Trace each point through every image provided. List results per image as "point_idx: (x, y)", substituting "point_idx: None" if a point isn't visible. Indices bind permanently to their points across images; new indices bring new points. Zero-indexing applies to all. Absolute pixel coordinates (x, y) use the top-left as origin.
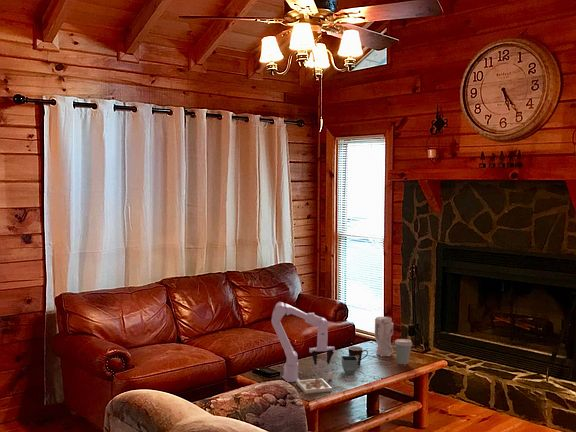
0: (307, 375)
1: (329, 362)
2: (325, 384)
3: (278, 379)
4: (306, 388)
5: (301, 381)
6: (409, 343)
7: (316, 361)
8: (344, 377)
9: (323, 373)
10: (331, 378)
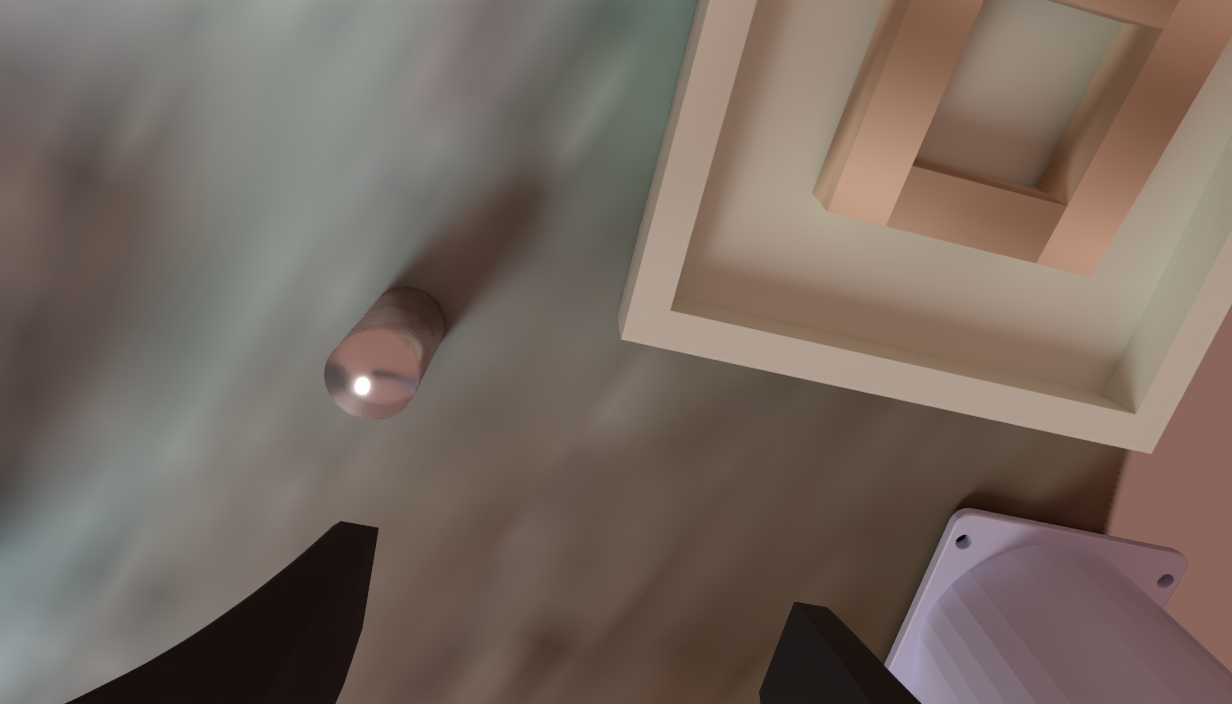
0: (664, 671)
1: (318, 541)
2: (748, 13)
3: None
4: None
5: (1074, 398)
6: None
7: (859, 673)
8: (35, 316)
9: None
10: (388, 299)
